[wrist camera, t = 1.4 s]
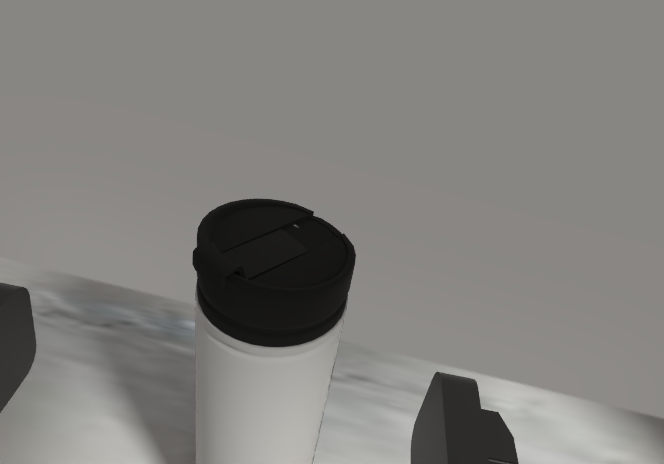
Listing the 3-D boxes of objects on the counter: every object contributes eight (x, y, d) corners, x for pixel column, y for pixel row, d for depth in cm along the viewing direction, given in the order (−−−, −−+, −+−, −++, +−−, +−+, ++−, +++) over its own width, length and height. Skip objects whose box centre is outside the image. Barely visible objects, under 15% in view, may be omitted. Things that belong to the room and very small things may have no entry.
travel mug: (168, 495, 34) (153, 218, 22) (258, 430, 38) (286, 166, 26) (236, 582, 31) (261, 316, 19) (325, 502, 35) (394, 240, 23)
